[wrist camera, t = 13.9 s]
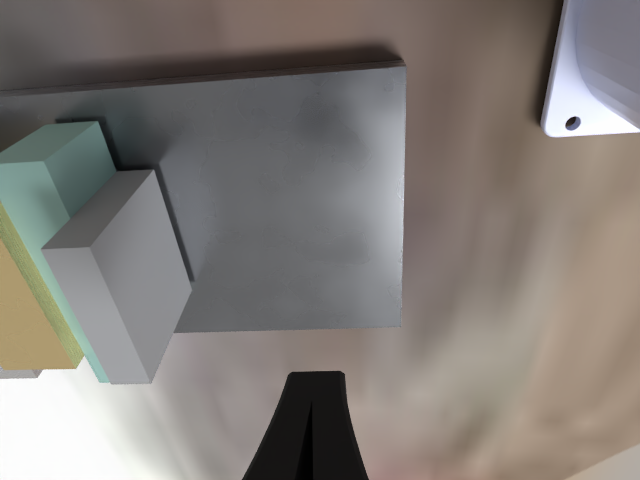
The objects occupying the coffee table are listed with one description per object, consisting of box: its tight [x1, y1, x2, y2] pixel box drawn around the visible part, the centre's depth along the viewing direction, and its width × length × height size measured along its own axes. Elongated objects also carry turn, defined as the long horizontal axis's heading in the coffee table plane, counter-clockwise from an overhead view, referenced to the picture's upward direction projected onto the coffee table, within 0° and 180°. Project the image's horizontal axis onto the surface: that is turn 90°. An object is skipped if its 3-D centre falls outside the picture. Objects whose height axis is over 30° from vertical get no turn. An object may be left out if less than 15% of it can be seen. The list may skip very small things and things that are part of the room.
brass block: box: [0, 201, 84, 370], centre depth 18 cm, size 3×7×4 cm, turn 5°
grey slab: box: [0, 60, 406, 379], centre depth 18 cm, size 20×12×6 cm, turn 95°
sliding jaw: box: [0, 121, 192, 384], centre depth 17 cm, size 4×10×5 cm, turn 5°
